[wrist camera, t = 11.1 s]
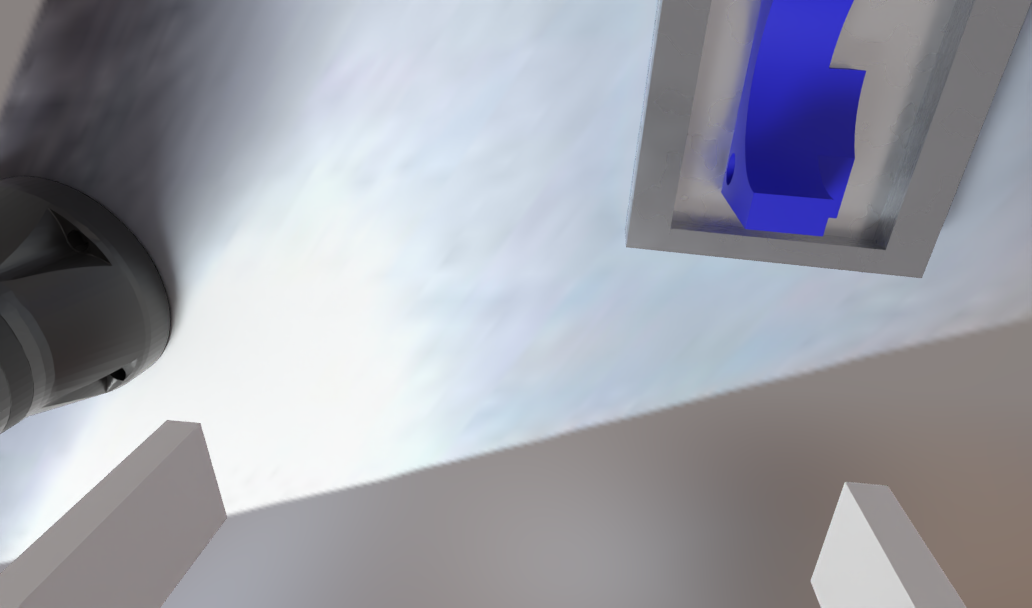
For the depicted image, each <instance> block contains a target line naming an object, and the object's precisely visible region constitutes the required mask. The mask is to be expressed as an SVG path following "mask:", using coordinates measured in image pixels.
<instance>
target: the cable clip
mask: <svg viewBox="0 0 1032 608" xmlns="http://www.w3.org/2000/svg"><path fill="white" fill-rule="evenodd" d="M853 1H854V0H761V5H760V10H759V15H758V19H757V24H756V29H755V34H754V38H753V43H752V48H751V53H750V57H749V62H748V67H747V72H746V76H745V81H744V86H743V91H742V95H741V100H740V105H739V110H738V114H737V119H736V124H735V129H734V133H733V138H732V143H731V148H730V153H729V157H728V162H727V167H726V172H725V176H724V181H723V186H722V191H721V193H722V195H723V196H724V198H725V199H726V201H727V202H728V204H729V205H730V207H731V208H732V210H733V211H734V213H735V215H736V216H737V218H738V219H739V221H740V222H741V224H742V225H743V227H744V228H745V229H748V230H759V231H770V232H780V233H791V234H801V235H812V236H822V237H823V234H824V231H825V228H826V224H827V221H828V218H837V216H838V212H839V209H840V206H841V202H842V199H843V196H844V193H845V189H846V186H847V183H848V180H849V176H850V173H851V170H852V167H853V163H854V160H855V146H854V145H855V125H856V117H857V110H858V104H859V99H860V94H861V89H862V85H863V81H864V77H865V74H866V71H865V70H858V69H848V68H831V67H829V66H830V63H831V59H832V56H833V53H834V49H835V46H836V44H837V41H838V38H839V35H840V32H841V30H842V27H843V24H844V22H845V19H846V17H847V15H848V12H849V10H850V8H851V6H852V4H853Z"/></svg>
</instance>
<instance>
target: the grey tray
mask: <svg viewBox="0 0 1032 608" xmlns="http://www.w3.org/2000/svg"><path fill="white" fill-rule="evenodd" d="M1031 2H1032V0H854V1H853V4H852V6H851V8H850V10H849V12H848V15H847V17H846V19H845V22H844V24H843V27H842V30H841V32H840V35H839V38H838V41H837V44H836V46H835V49H834V53H833V56H832V59H831V63H830V66H829V67H831V68H848V69H858V70H865V71H866V74H865V77H864V81H863V85H862V89H861V94H860V99H859V104H858V110H857V117H856V125H855V145H854V146H855V160H854V163H853V167H852V170H851V173H850V176H849V180H848V183H847V186H846V189H845V193H844V196H843V199H842V202H841V206H840V209H839V212H838V216H837V218H828V221H827V224H826V228H825V231H824V234H823V237H822V236H812V235H801V234H791V233H780V232H770V231H759V230H748V229H745V228H744V227H743V225H742V224H741V222H740V221H739V219H738V218H737V216H736V215H735V213H734V211H733V210H732V208H731V207H730V205H729V204H728V202H727V201H726V199H725V198H724V196H723V195H722V193H721V191H722V186H723V181H724V176H725V172H726V167H727V162H728V157H729V153H730V148H731V143H732V138H733V133H734V129H735V124H736V119H737V114H738V110H739V105H740V100H741V95H742V91H743V86H744V81H745V76H746V72H747V67H748V62H749V57H750V53H751V48H752V43H753V38H754V34H755V29H756V24H757V19H758V15H759V10H760V5H761V0H658V7H657V13H656V20H655V27H654V34H653V41H652V48H651V55H650V62H649V69H648V76H647V82H646V89H645V96H644V103H643V110H642V117H641V124H640V131H639V138H638V145H637V151H636V158H635V165H634V172H633V179H632V186H631V193H630V200H629V207H628V214H627V221H626V227H625V234H626V247H630V248H639V249H649V250H658V251H668V252H677V253H687V254H696V255H706V256H715V257H725V258H735V259H744V260H754V261H763V262H773V263H782V264H792V265H801V266H811V267H820V268H830V269H839V270H849V271H858V272H868V273H877V274H887V275H897V276H906V277H916V278H922V276H923V274H924V271H925V269H926V266H927V264H928V261H929V258H930V256H931V253H932V251H933V248H934V246H935V243H936V241H937V238H938V236H939V233H940V231H941V228H942V226H943V223H944V221H945V218H946V216H947V213H948V211H949V208H950V206H951V203H952V201H953V198H954V196H955V193H956V191H957V188H958V186H959V183H960V180H961V178H962V175H963V173H964V170H965V168H966V165H967V163H968V160H969V158H970V155H971V153H972V150H973V148H974V145H975V143H976V140H977V138H978V135H979V133H980V130H981V128H982V125H983V123H984V120H985V118H986V115H987V113H988V110H989V108H990V105H991V102H992V100H993V97H994V95H995V92H996V90H997V87H998V85H999V82H1000V80H1001V77H1002V75H1003V72H1004V70H1005V67H1006V65H1007V62H1008V60H1009V57H1010V55H1011V52H1012V50H1013V47H1014V45H1015V42H1016V40H1017V37H1018V35H1019V32H1020V30H1021V27H1022V25H1023V22H1024V19H1025V17H1026V14H1027V12H1028V9H1029V7H1030V4H1031Z"/></svg>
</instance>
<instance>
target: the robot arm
mask: <svg viewBox="0 0 1032 608" xmlns="http://www.w3.org/2000/svg"><path fill="white" fill-rule="evenodd" d="M169 330H170V311H169V304H168V299H167V295H166V292H165V289H164V286H163V283H162V281H161V278H160V276H159V274H158V272H157V270H156V267H155V266H154V264H153V262H152V260H151V259H150V257H149V256H148V254H147V252H146V251H145V250H144V248H143V247H142V245H141V244H140V243H139V241H138V240H137V239H136V238H135V236H134V235H133V234H132V233H131V232H130V231H129V230H128V229H127V228H126V227H125V226H124V225H123V224H122V223H121V222H120V221H119V220H118V219H117V218H116V217H115V216H114V215H113V214H111V213H110V212H109V211H108V210H107V209H105V208H104V207H103V206H101V205H100V204H99V203H97V202H96V201H94V200H93V199H91V198H89V197H88V196H86V195H84V194H83V193H81V192H79V191H77V190H75V189H73V188H70V187H68V186H66V185H63V184H60V183H58V182H54V181H51V180H47V179H43V178H36V177H11V178H6V179H2V180H0V434H1V433H3V432H4V431H6V430H7V429H9V428H11V427H12V426H14V425H15V424H17V423H19V422H20V421H22V420H23V419H25V418H27V417H29V416H32V415H35V414H39V413H42V412H45V411H49V410H52V409H55V408H58V407H62V406H65V405H68V404H71V403H75V402H78V401H81V400H84V399H88V398H91V397H94V396H98V395H101V394H104V393H107V392H110V391H113V390H115V389H117V388H119V387H121V386H123V385H125V384H127V383H128V382H130V381H131V380H132V379H134V378H135V377H137V376H138V375H140V374H141V373H142V372H144V371H145V370H147V369H148V368H149V367H151V366H152V365H153V364H154V363H155V362H156V361H157V360H158V358H159V357H160V356H161V354H162V352H163V350H164V348H165V346H166V343H167V340H168V336H169ZM226 519H227V516H226V512H225V508H224V505H223V501H222V498H221V494H220V491H219V487H218V484H217V480H216V477H215V473H214V470H213V466H212V463H211V459H210V456H209V452H208V448H207V445H206V441H205V438H204V434H203V431H202V427H201V424H200V423H193V422H182V421H171V420H167V421H166V422H165V423H163V424H162V425H161V426H160V427H159V428H158V429H157V430H156V431H155V432H154V433H153V434H152V435H150V436H149V437H148V438H147V439H146V440H145V441H144V442H143V443H142V444H141V445H140V446H138V447H137V448H136V449H135V450H134V451H133V452H132V453H131V454H130V455H129V456H128V457H126V458H125V459H124V460H123V461H122V462H121V463H120V464H119V465H118V466H117V467H116V468H115V469H113V470H112V471H111V472H110V473H109V474H108V475H107V476H106V477H105V478H104V479H103V480H101V481H100V482H99V483H98V484H97V485H96V486H95V487H94V488H93V489H92V490H91V491H90V492H88V493H87V494H86V495H85V496H84V497H83V498H82V499H81V500H80V501H79V502H78V503H76V504H75V505H74V506H73V507H72V508H71V509H70V510H69V511H68V512H67V513H66V514H64V515H63V516H62V517H61V518H60V519H59V520H58V521H57V522H56V523H55V524H54V525H53V526H51V527H50V528H49V529H48V530H47V531H46V532H45V533H44V534H43V535H42V536H41V537H39V538H38V539H37V540H36V541H35V542H34V543H33V544H32V545H31V546H30V547H29V548H28V549H26V550H25V551H24V552H23V553H22V554H21V555H20V556H19V557H18V558H17V559H16V560H14V561H13V562H12V563H11V564H10V565H9V566H8V567H7V568H6V569H5V570H4V571H3V572H1V573H0V608H160V607H161V606H162V604H163V603H164V602H165V601H166V599H167V597H168V596H169V595H170V594H171V593H172V591H173V590H174V588H175V587H176V586H177V584H178V583H179V582H180V580H181V579H182V578H183V576H184V575H185V574H186V572H187V571H188V570H189V568H190V567H191V566H192V564H193V563H194V562H195V560H196V559H197V558H198V556H199V555H200V554H201V552H202V551H203V550H204V548H205V547H206V546H207V544H208V543H209V542H210V540H211V539H212V538H213V536H214V535H215V534H216V532H217V531H218V530H219V528H220V527H221V525H222V524H223V523H224V521H225V520H226ZM811 583H812V586H813V588H814V591H815V594H816V596H817V599H818V601H819V604H820V606H821V608H967V607H966V606H965V604H964V603H963V601H962V600H961V598H960V597H959V595H958V594H957V592H956V590H955V589H954V587H953V586H952V584H951V583H950V581H949V580H948V578H947V577H946V575H945V573H944V572H943V570H942V569H941V567H940V566H939V565H938V563H937V561H936V560H935V558H934V557H933V555H932V553H931V552H930V550H929V549H928V547H927V546H926V544H925V543H924V541H923V539H922V538H921V536H920V535H919V533H918V532H917V530H916V529H915V527H914V526H913V524H912V522H911V521H910V519H909V518H908V516H907V515H906V513H905V512H904V510H903V509H902V507H901V506H900V504H899V502H898V501H897V500H896V498H895V496H894V495H893V493H892V491H891V490H890V488H889V487H888V486H886V485H875V484H865V483H854V482H845V484H844V486H843V489H842V492H841V495H840V498H839V501H838V504H837V507H836V509H835V512H834V515H833V518H832V521H831V524H830V527H829V530H828V533H827V535H826V538H825V542H824V544H823V547H822V550H821V553H820V556H819V559H818V561H817V564H816V567H815V571H814V573H813V576H812V579H811Z"/></svg>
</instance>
